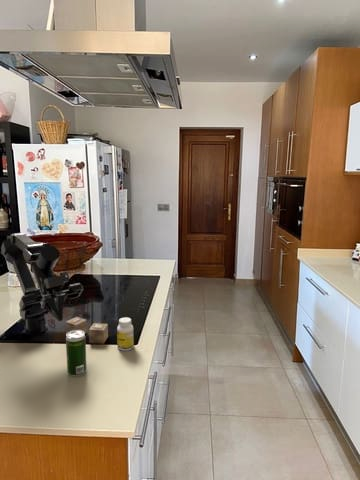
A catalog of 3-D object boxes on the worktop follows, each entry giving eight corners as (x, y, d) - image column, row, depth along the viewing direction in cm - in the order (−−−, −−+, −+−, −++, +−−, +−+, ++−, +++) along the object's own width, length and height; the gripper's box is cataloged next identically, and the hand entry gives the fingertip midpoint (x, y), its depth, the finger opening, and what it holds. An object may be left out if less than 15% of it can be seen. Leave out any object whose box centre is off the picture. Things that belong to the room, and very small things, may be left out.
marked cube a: (89, 343, 116) (89, 328, 115) (94, 336, 121) (93, 322, 120) (103, 343, 115) (103, 329, 114) (108, 336, 120) (107, 323, 119)
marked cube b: (66, 334, 121) (65, 321, 120) (77, 329, 125) (76, 316, 124) (76, 338, 119) (75, 324, 118) (86, 332, 123) (86, 319, 122)
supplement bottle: (114, 346, 113) (113, 319, 111) (127, 341, 117) (127, 314, 115) (123, 352, 110) (123, 324, 108) (136, 347, 113) (136, 319, 111)
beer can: (90, 371, 99) (88, 333, 96) (73, 379, 95) (71, 340, 93) (80, 364, 102) (78, 327, 100) (63, 371, 99) (61, 333, 96)
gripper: (18, 270, 98) (34, 318, 92) (79, 259, 110) (97, 301, 104) (13, 288, 105) (27, 334, 100) (70, 276, 117) (86, 316, 112)
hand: (61, 320), depth 104 cm, fingers closed
